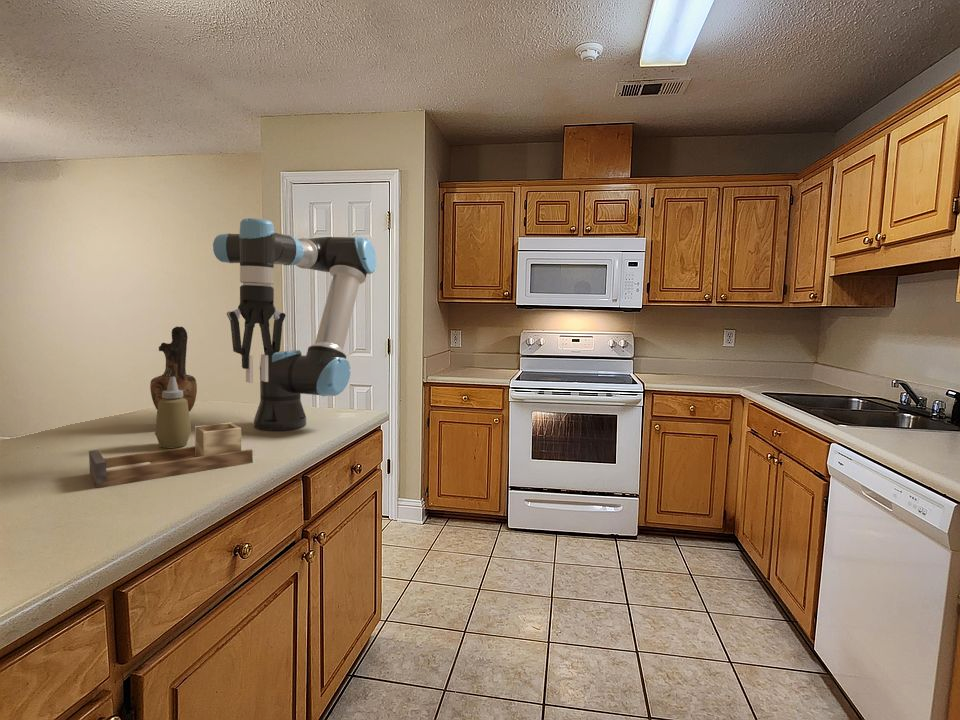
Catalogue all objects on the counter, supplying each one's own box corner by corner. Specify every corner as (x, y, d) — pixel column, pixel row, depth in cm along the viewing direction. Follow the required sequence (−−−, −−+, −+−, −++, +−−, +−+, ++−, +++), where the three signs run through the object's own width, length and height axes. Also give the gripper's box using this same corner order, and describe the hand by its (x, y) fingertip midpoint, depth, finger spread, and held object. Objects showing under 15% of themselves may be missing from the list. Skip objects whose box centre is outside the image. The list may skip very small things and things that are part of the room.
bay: (237, 452, 132) (237, 432, 131) (252, 462, 124) (252, 441, 123) (89, 473, 112) (89, 451, 111) (96, 488, 104) (96, 463, 103)
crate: (231, 450, 129) (230, 422, 128) (241, 457, 124) (241, 428, 123) (195, 455, 124) (194, 426, 123) (204, 462, 118) (204, 432, 118)
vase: (185, 421, 162) (184, 324, 159) (206, 428, 155) (204, 326, 152) (144, 427, 153) (141, 324, 150) (163, 434, 145) (161, 327, 142)
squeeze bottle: (175, 451, 130) (173, 380, 129) (147, 448, 132) (145, 377, 130) (198, 443, 138) (197, 376, 136) (172, 440, 140) (171, 374, 138)
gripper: (283, 287, 134) (283, 377, 136) (216, 283, 123) (217, 381, 125) (295, 287, 128) (295, 381, 131) (226, 282, 118) (227, 385, 120)
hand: (257, 381), depth 128 cm, fingers open, 3 cm apart
